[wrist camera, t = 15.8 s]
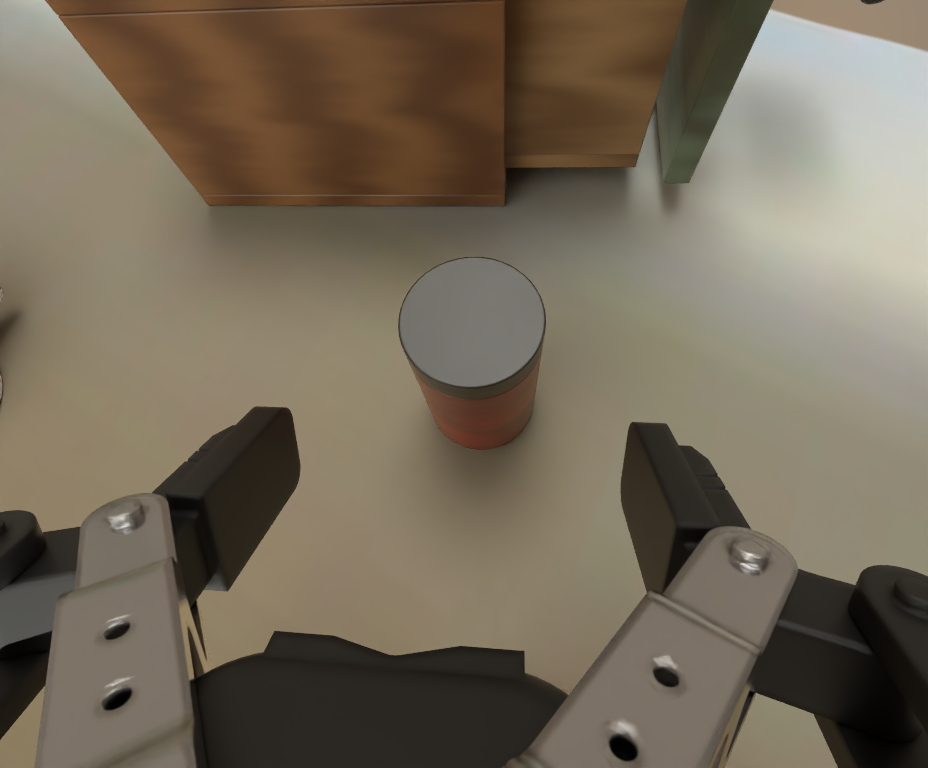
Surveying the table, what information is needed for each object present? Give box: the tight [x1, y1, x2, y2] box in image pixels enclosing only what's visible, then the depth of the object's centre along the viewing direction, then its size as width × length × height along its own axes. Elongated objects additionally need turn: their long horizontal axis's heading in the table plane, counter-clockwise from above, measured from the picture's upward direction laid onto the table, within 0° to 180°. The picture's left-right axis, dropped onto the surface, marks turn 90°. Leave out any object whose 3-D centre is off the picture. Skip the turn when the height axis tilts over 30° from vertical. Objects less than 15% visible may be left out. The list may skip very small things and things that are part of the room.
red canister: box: [398, 257, 546, 449], centre depth 19 cm, size 4×4×7 cm
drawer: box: [505, 0, 883, 183], centre depth 23 cm, size 20×12×9 cm, turn 87°
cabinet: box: [45, 0, 507, 206], centre depth 24 cm, size 16×14×11 cm
